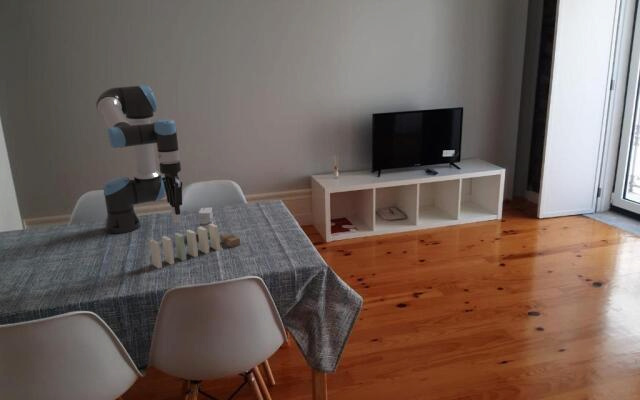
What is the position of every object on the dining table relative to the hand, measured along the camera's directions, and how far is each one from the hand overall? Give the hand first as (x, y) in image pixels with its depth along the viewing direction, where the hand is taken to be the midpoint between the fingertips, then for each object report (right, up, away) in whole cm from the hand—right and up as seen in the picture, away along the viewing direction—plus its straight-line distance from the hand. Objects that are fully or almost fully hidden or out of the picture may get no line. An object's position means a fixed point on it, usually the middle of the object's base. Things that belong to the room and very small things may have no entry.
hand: (177, 221), depth 194 cm
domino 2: (-3, -16, +1) cm, 16 cm away
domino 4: (+4, -14, +7) cm, 16 cm away
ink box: (+6, -8, +28) cm, 30 cm away
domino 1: (-7, -17, -2) cm, 18 cm away
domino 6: (+12, -12, +14) cm, 22 cm away
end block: (+17, -10, +18) cm, 27 cm away
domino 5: (+8, -13, +10) cm, 18 cm away
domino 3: (+1, -15, +4) cm, 15 cm away
